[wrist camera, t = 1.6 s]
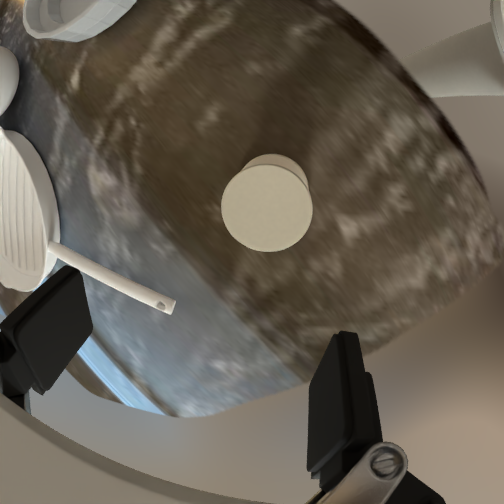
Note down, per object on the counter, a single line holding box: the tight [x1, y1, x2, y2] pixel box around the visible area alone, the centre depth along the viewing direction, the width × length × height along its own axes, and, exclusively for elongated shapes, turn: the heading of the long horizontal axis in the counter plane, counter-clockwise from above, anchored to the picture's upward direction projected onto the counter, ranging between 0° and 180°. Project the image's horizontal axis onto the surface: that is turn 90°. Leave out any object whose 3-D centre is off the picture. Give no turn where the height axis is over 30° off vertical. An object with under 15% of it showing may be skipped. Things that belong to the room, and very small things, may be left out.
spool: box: [221, 154, 313, 252], centre depth 21 cm, size 6×6×6 cm
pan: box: [0, 126, 176, 315], centre depth 28 cm, size 24×41×4 cm, turn 69°
